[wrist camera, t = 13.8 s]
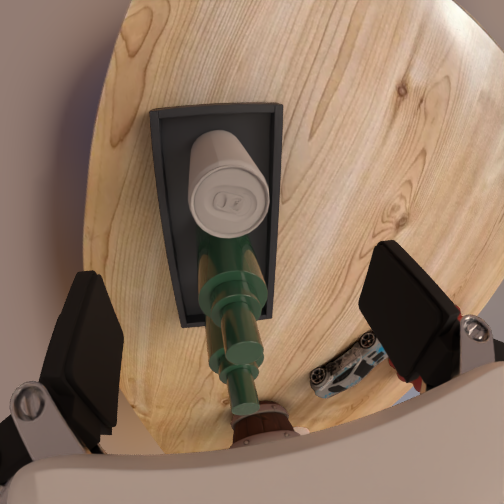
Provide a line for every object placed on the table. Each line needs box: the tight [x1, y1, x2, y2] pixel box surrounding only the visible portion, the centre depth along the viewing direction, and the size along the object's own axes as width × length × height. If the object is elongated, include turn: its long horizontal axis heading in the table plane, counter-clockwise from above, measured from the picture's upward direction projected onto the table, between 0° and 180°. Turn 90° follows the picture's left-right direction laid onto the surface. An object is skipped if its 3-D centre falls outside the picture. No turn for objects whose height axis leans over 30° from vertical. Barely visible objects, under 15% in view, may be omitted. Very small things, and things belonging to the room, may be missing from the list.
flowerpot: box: [229, 401, 301, 449], centre depth 48 cm, size 14×15×20 cm
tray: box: [149, 102, 283, 328], centre depth 30 cm, size 12×26×2 cm, turn 0°
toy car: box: [310, 332, 388, 398], centre depth 48 cm, size 8×17×5 cm, turn 134°
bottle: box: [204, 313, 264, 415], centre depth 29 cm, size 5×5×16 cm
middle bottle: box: [195, 223, 268, 365], centre depth 24 cm, size 5×5×16 cm
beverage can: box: [188, 130, 270, 238], centre depth 22 cm, size 5×5×12 cm
